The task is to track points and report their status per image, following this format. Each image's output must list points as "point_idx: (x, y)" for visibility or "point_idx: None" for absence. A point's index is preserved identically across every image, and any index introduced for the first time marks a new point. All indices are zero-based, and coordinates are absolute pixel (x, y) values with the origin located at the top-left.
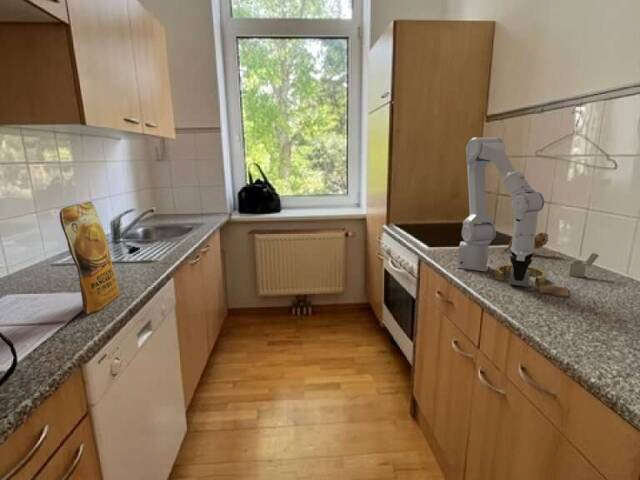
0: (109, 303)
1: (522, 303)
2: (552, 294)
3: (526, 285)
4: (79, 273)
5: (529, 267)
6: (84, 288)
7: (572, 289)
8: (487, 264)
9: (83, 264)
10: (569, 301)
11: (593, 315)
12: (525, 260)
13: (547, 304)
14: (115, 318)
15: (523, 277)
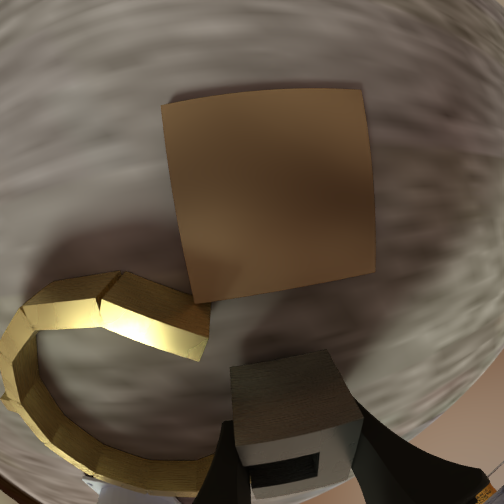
0: None
1: (491, 292)
2: (368, 188)
3: (329, 359)
4: None
5: (17, 394)
6: (493, 488)
7: (128, 84)
8: (87, 482)
9: None
10: (405, 95)
11: (479, 45)
12: (476, 495)
13: (481, 204)
14: (493, 470)
15: (366, 411)
